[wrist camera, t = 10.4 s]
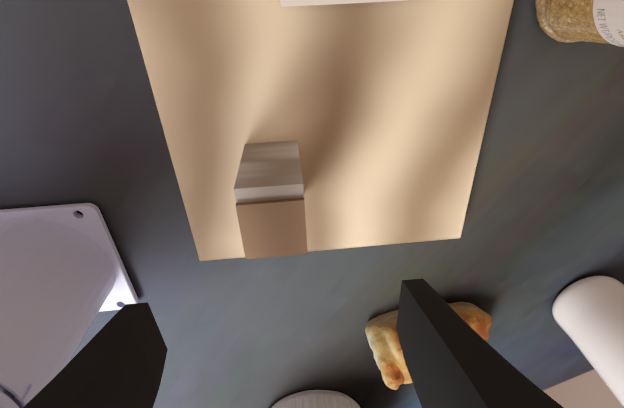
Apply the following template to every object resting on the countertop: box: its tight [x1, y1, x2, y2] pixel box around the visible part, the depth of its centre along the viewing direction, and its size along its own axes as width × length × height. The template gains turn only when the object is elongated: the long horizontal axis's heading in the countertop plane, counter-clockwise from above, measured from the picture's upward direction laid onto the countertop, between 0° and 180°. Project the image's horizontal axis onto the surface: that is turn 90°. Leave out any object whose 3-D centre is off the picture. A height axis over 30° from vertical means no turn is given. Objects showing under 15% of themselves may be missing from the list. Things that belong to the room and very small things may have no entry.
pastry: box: [365, 302, 492, 390], centre depth 25 cm, size 9×7×4 cm
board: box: [127, 0, 514, 261], centre depth 16 cm, size 16×20×1 cm
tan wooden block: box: [234, 140, 308, 259], centre depth 15 cm, size 3×3×5 cm
